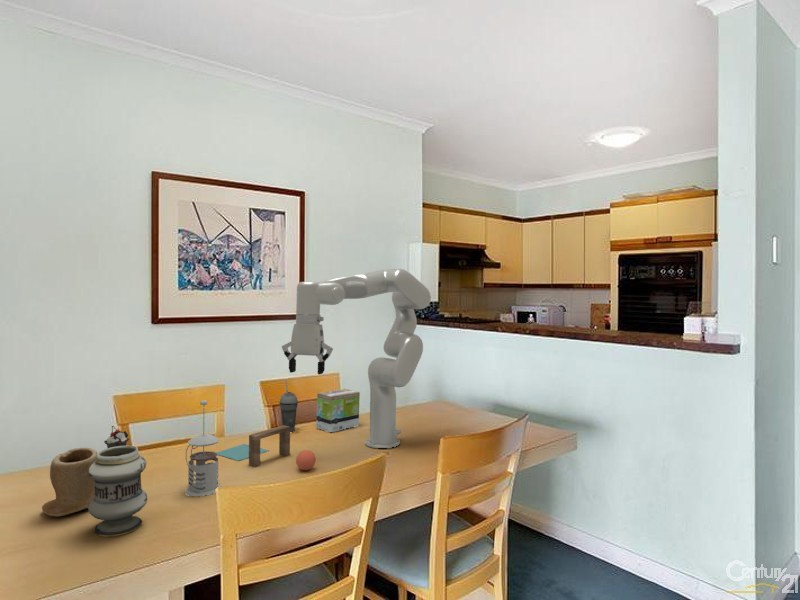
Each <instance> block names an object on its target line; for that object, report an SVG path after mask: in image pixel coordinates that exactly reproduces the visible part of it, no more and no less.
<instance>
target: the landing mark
mask: <svg viewBox="0 0 800 600" xmlns="http://www.w3.org/2000/svg"><path fill="white" fill-rule="evenodd" d="M267 451H268V452H270V450H269V449H266V448H261V447H260V455H261V453H262V454H264V453H267ZM216 453H217V456H220V457H223V458H227V459H229V460H234V461H237V462H240V461H244V460H246V459H249V444H245V443H242V444H239V445H236V446H232V447H230V448H226V449H223V450H220V451H217V452H216Z"/></svg>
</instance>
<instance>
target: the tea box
mask: <svg viewBox="0 0 800 600" xmlns="http://www.w3.org/2000/svg"><path fill="white" fill-rule="evenodd" d="M360 394H361V393H360V391H356V390H352V389H346V388H343V389H335V390H330V391H329V390H328V391H322V392H317V394H316V419H315V420H316V421H315V423H316V425H315V427H316V429H317V428H318V429H317V430H320V429H321V431H323V430H324V432H326V431H328V432H327V433H330V432H332V433H334V432H335V433H336V432H339V431H343V429H344V430H347V429H346V428H349V429H351V428H350V427H354V426H357V425H359V423H360V398H361V397H360ZM359 426H360V425H359ZM354 428H355V427H354Z"/></svg>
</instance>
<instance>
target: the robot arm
mask: <svg viewBox="0 0 800 600" xmlns="http://www.w3.org/2000/svg"><path fill="white" fill-rule="evenodd" d="M387 293H392V294H391V300H392V304H393V307H394V310H395V319H394V321H393V324H392V326H391V328H390V331H389V332H388V334H387V336H386V339H385V341H384V343H383V348H382V349H383V352H384V353H385V354H386V355H387V356H389V357H391V358H389V357H383V356H382V357H376V358H375V359H372V361H371V362H370V363H369V365H368V367H367V375H368V381H369V382H368V383H369V389H370V390H369V392H370V394H369V395H370V400H369V404H370V406H369V410H370V411H369V437H368V438H367V439H366V440H365V445H366V447H369V448H372V449H378V448H387V449H393V448H392V447H394V448H397V447H398V445H399V444H401V441H400V439H399V438H397V436H398V435H400V434H402V429H401V428H397V392H396V388H404V387H406V386H407V385H408V384H409V383H410V381H411V379H412V377H413V376H414V373H415V371H416V369H417V367H418V364H419V362H420V360H421V358H422V355H423V352H424V343H423V340H422V338H421V337H420V336H419V335H417V334H415V330H416V328H417V323H418V319H417V316H416V313H415V312H416V311H415V310H423V309H426V308H427V307H428V306H429V305H430V304H431V299H432V297H431V292H430V290H429V289H428V288H427V287H426V285H425V284H423V283H422V282H421V281H420V280H419V279H417V278H416V277H415V276H414V275H413V274H411V273H410V272H409V271H408V270H405V269H404V268H387V269H386V268H385V269H381V270H375V271H371V272H365V273H360V274H354V275H349V276H344V277H339V278H338V277H337V278H333V279H327V280H322V281H321V280H320V281H318V282H316V281H299V282H298V283H297V286H296V303H295V305H296V307H295V308H296V310H295V313H296V314H295V323H294V324H293V327H292V332H291V333H292V334H291V339H290V341H289V342H287V343H285V344H283V345H282V346H281V349H282V352H283V354H284V356H285V357H286V358H287V360H288V370H289V374H290V373H294V372H296V371H297V370H296V369H297V359H296V357H297V356H298V355H299V356H315V357H316V358H317V359H318V362H317V374H318V375H322V374H324V372H325V368H326V366H325V363H326V360H328V358H329V357H330V356H331V354H332V353H333V350H334V348H333V347H331V346H330V345H328V344H327V343H325V337H324V336H325V335H324V329H323V324H321V322H324V320H325V319H324V316H321V305H329V306H336V305H339V304H340V303H341V302H343V300H347V299H348V300H351V299H352V300H357V299H365V298H370V297H374V296H378V295H382V294H387ZM289 348H290V351H289ZM325 350H326V352H325ZM324 353H325V354H324ZM393 358H396V359H393ZM396 446H397V447H396Z"/></svg>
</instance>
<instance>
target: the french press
mask: <svg viewBox="0 0 800 600" xmlns="http://www.w3.org/2000/svg"><path fill="white" fill-rule="evenodd" d="M199 405H200V406H207V405H208V401H207V400H205V399H204V400H201V401H200V404H199ZM202 414H203V421H202V424H203V426H202V427H203V428H202V429H203V430H202V432H203V433H202V434H199V435H196V436H194V437H192V438H191V439H189V440H188V441H187V444H188V446H187V447H186V449H185V461H186V465H187V467H188V470H187V471H188V473H187V474H188V475H187V476H188V479H187V480H188V483H187V484H188V486H187V488H186V489H185V490H184V491H185V493H184V495H186V494H187V495H189V496H188V497H191V496H203V497H206V496H205V495H209V496H211V495H210V494H212V493H213V495H215V489H216V488H217V487H222V485H221V484H219V458H218V457H217V456H218V455H217V453H216V452H215V451H205V447H209V446H214V445H216V444H218V443H219V442H220V438H219V437H217V436H215V435H212V434H205V409H203V413H202ZM189 447H191V449H190V456H189V459H190V460H188V459H187V457H188V456H187V455H188V454H187V453H188V449H189ZM198 447H199V448H200V447H202V451H198V452H194V453H193V450H195V449H197V448H198ZM208 461H212V462H208ZM213 461H214V462H213ZM206 462H207V463H206ZM187 495H186V496H187Z"/></svg>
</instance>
